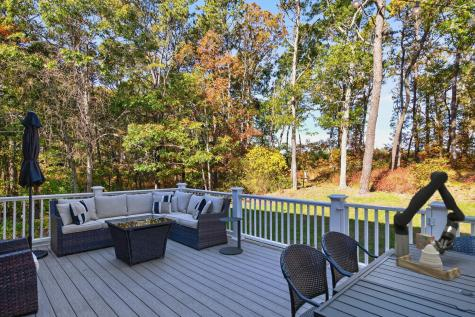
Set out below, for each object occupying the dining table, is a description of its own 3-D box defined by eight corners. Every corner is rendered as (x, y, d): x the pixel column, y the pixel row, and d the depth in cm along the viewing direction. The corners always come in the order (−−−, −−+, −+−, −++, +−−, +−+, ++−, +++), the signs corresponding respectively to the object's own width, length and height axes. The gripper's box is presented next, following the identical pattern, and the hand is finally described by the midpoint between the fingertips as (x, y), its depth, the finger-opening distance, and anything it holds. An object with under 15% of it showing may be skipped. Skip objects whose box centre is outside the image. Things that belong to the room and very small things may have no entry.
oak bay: (409, 261, 198) (409, 254, 198) (460, 275, 171) (460, 267, 171) (396, 265, 190) (396, 258, 190) (447, 281, 163) (447, 272, 163)
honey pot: (435, 266, 188) (434, 240, 189) (447, 273, 175) (446, 245, 176) (415, 265, 189) (414, 239, 190) (426, 272, 177) (425, 244, 177)
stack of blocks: (446, 254, 214) (445, 238, 214) (439, 255, 212) (438, 239, 213) (422, 247, 235) (421, 232, 235) (416, 247, 233) (415, 233, 234)
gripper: (436, 229, 202) (428, 247, 195) (457, 232, 190) (449, 252, 183) (440, 235, 204) (432, 254, 197) (461, 239, 192) (453, 259, 186)
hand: (440, 253), depth 190 cm, fingers closed
